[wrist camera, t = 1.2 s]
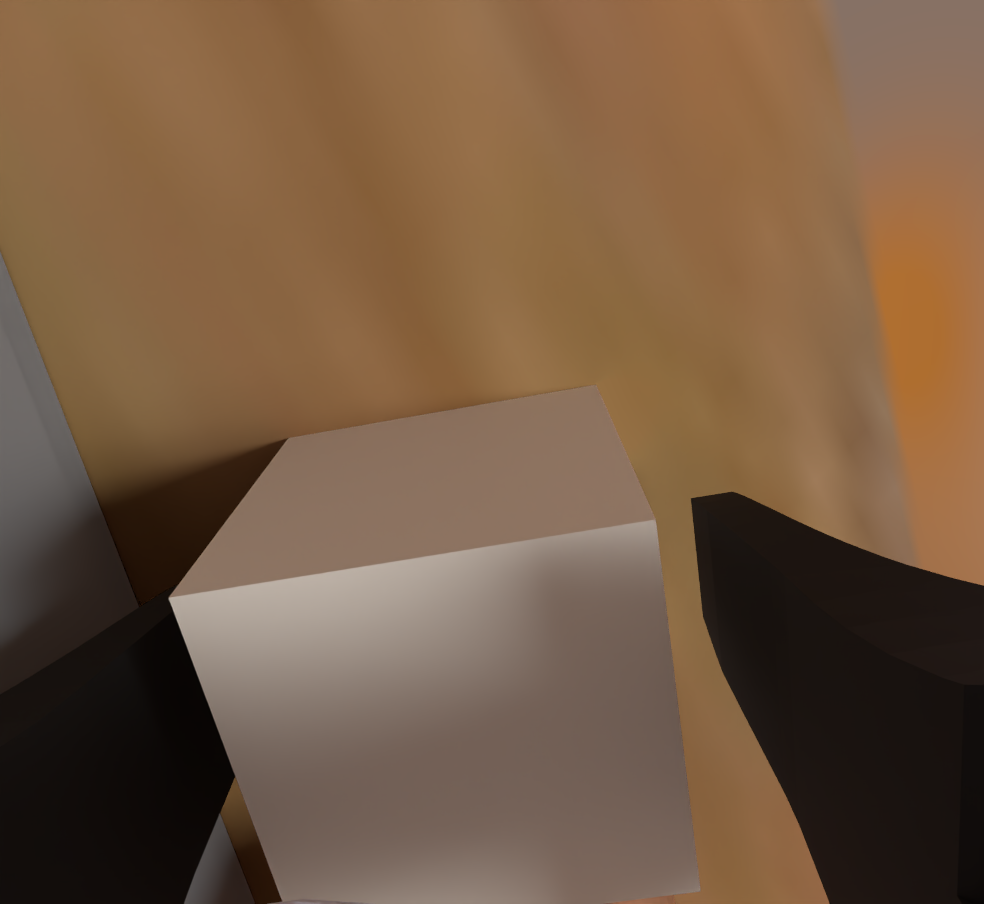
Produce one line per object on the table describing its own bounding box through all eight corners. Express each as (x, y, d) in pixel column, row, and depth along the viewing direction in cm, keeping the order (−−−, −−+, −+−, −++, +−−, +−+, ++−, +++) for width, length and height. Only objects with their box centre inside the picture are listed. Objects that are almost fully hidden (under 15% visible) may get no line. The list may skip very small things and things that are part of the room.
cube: (632, 648, 14) (700, 890, 9) (362, 688, 14) (298, 942, 10) (595, 383, 12) (656, 519, 8) (289, 436, 13) (168, 597, 8)
